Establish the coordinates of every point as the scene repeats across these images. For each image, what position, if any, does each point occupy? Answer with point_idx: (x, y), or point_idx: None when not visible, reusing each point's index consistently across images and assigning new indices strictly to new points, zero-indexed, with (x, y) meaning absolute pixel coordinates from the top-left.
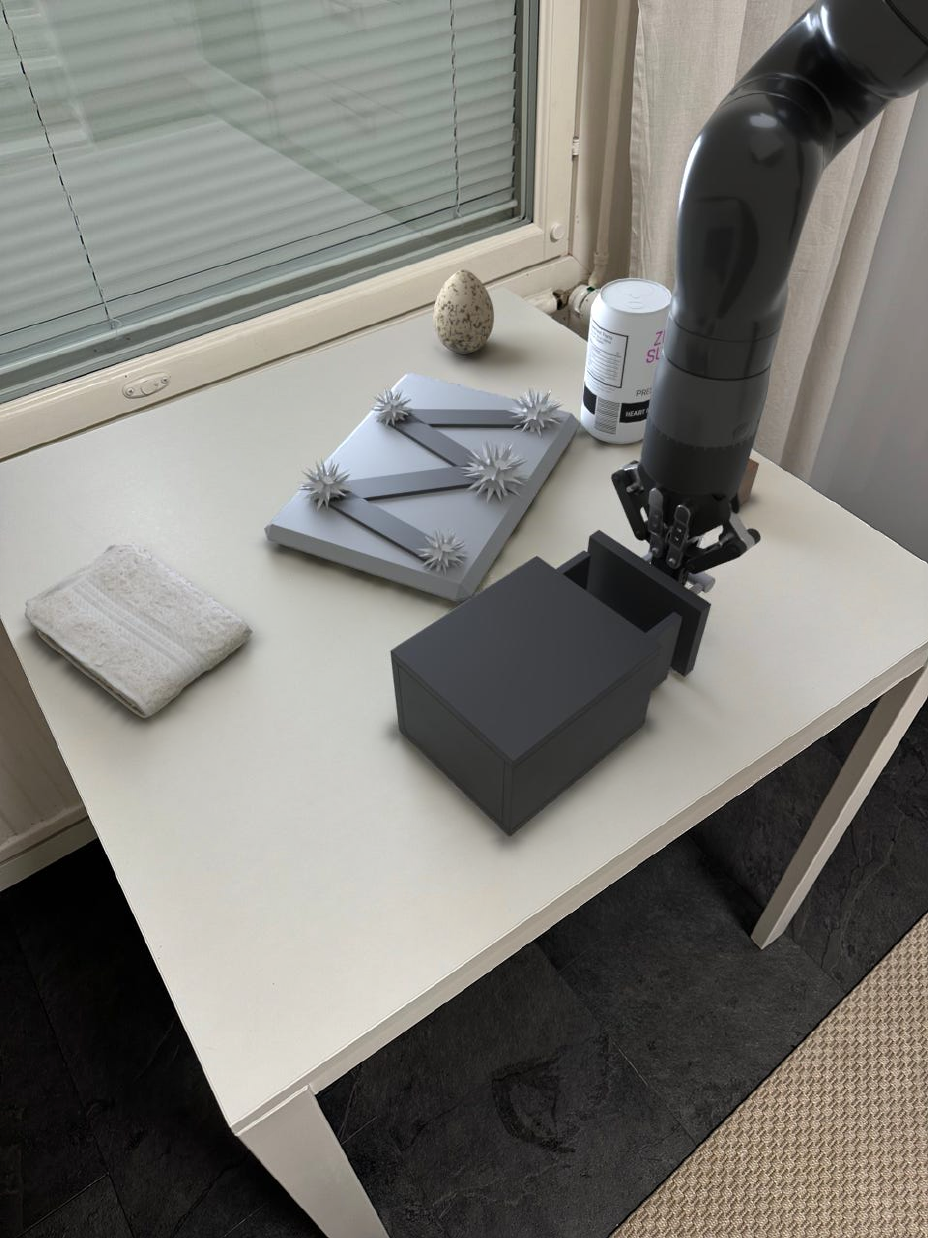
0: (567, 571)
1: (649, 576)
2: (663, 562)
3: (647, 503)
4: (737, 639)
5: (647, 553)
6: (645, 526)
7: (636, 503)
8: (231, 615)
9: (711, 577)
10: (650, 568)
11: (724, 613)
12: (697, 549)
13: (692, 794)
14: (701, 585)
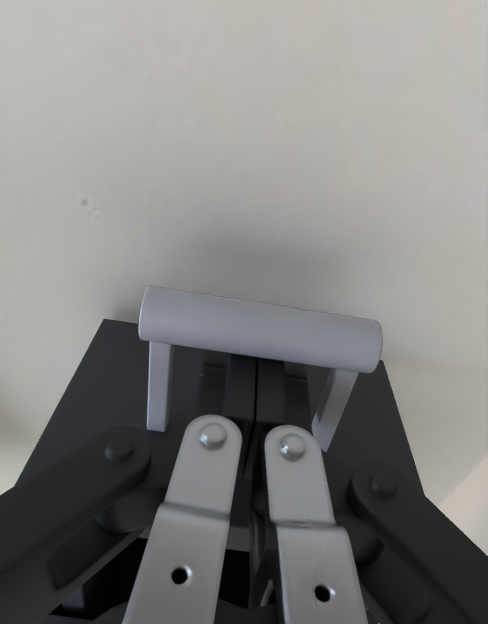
0: (83, 585)
1: (247, 551)
2: (240, 476)
3: (48, 571)
4: (436, 207)
5: (150, 351)
6: (121, 542)
7: (27, 620)
8: None
9: (372, 353)
10: (232, 534)
11: (378, 146)
12: (334, 517)
13: (453, 487)
14: (352, 371)
